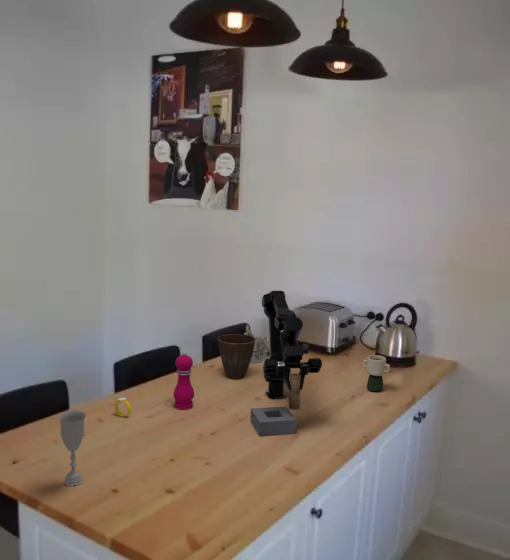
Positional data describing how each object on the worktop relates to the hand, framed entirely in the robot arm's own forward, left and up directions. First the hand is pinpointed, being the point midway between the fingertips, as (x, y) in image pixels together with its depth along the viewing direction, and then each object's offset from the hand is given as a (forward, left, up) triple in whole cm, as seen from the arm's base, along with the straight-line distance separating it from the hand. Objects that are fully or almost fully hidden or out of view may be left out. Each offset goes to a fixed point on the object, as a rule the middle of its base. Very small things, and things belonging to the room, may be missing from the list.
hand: (295, 389), depth 194 cm
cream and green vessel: (-31, +43, -14) cm, 55 cm away
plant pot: (-55, -7, -14) cm, 57 cm away
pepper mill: (-26, -32, -14) cm, 44 cm away
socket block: (-3, -6, -13) cm, 15 cm away
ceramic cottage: (-79, +7, -14) cm, 80 cm away
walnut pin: (-1, 0, -7) cm, 7 cm away
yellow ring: (-21, -53, -14) cm, 59 cm away
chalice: (+22, -67, -14) cm, 72 cm away
